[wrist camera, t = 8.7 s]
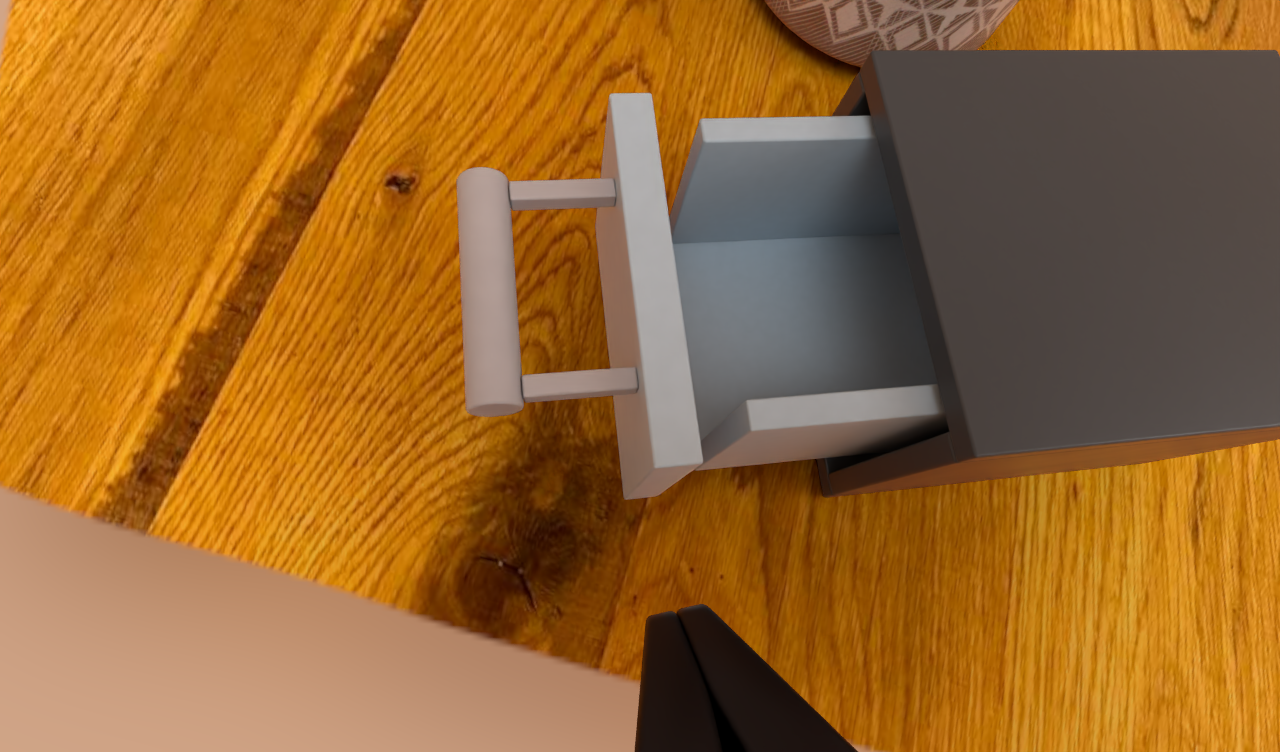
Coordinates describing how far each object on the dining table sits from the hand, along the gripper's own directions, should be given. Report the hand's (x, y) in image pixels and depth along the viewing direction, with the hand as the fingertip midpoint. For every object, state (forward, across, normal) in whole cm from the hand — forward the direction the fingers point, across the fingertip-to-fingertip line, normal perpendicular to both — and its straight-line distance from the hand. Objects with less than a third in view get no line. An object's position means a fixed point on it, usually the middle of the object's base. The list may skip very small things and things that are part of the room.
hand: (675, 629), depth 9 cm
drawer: (+14, -6, +4) cm, 16 cm away
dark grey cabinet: (+14, -16, +5) cm, 22 cm away
